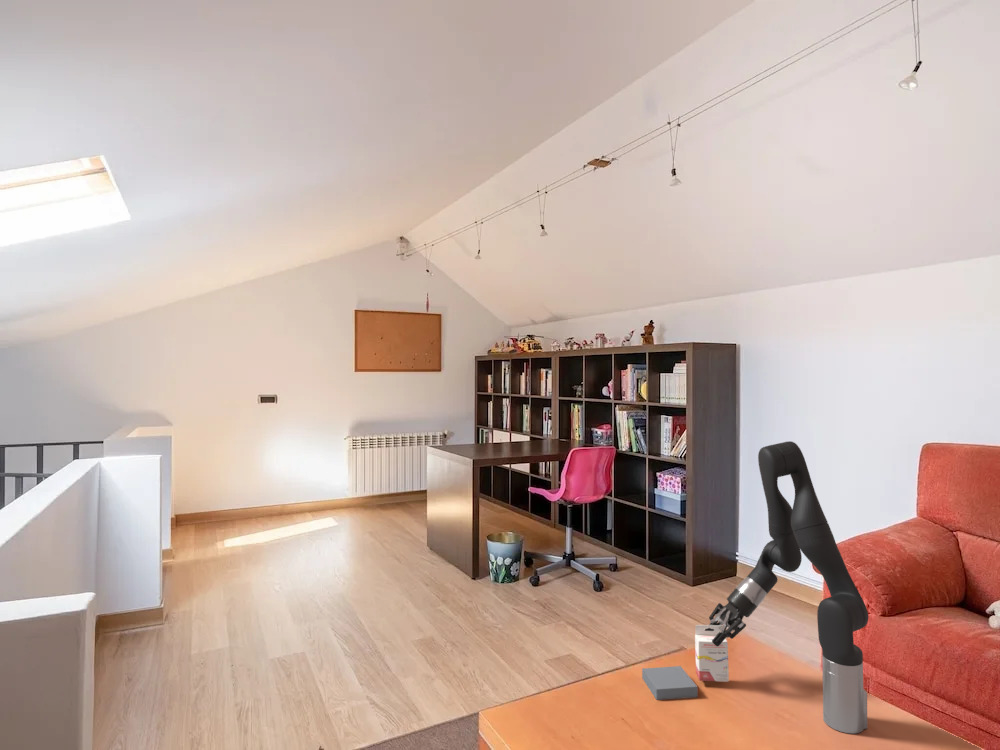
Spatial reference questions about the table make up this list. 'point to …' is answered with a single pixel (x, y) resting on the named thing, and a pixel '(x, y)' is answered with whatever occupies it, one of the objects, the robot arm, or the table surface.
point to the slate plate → (669, 683)
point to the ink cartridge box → (710, 655)
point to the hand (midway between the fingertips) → (710, 639)
